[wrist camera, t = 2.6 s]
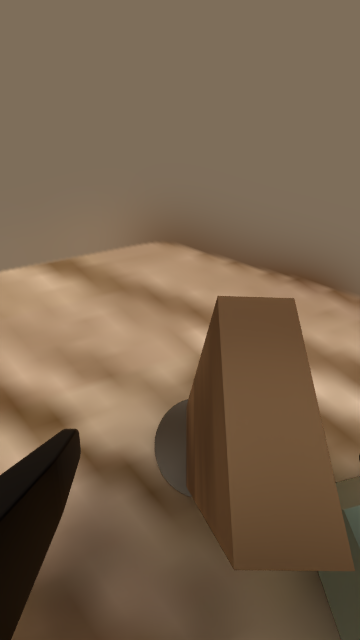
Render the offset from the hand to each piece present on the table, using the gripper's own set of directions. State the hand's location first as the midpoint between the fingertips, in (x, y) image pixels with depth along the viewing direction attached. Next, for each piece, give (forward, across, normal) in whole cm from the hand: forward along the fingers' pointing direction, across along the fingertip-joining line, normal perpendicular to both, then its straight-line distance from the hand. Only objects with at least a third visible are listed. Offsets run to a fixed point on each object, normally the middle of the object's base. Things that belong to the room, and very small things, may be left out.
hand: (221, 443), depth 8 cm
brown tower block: (+6, 0, +6) cm, 8 cm away
